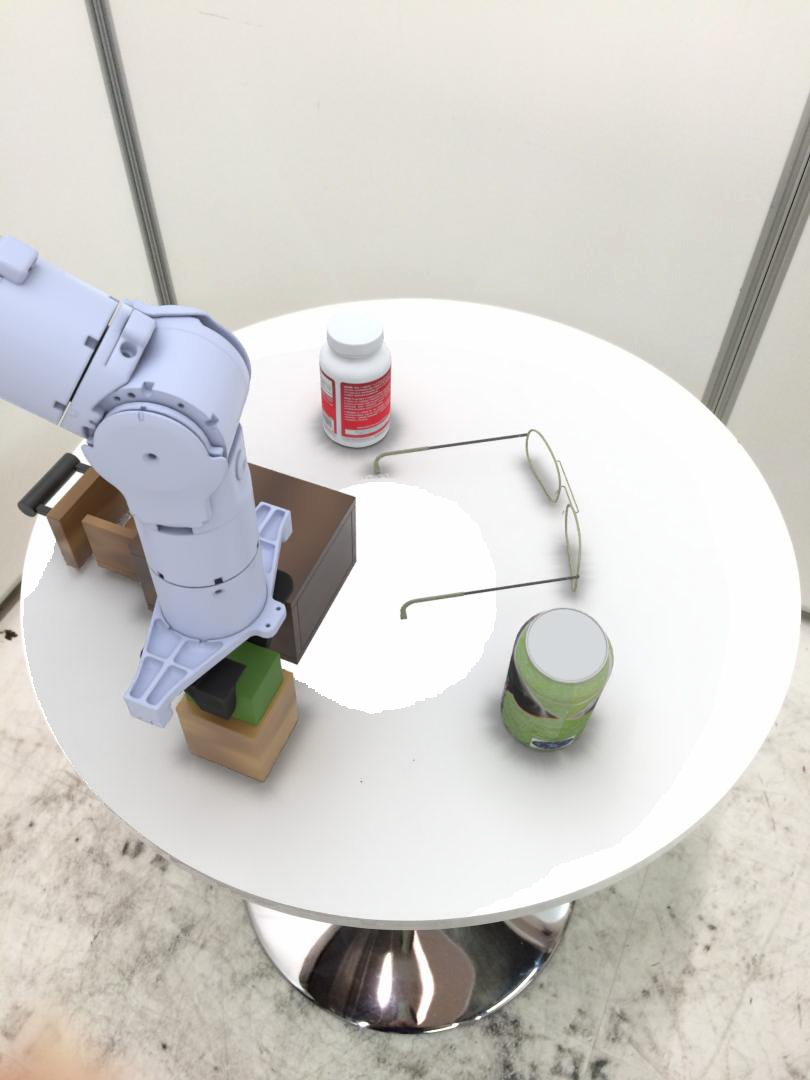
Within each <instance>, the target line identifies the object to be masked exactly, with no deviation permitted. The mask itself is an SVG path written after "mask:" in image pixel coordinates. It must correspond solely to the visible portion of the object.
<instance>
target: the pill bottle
mask: <svg viewBox="0 0 810 1080" xmlns="http://www.w3.org/2000/svg"><path fill="white" fill-rule="evenodd" d="M384 339H385V334H384V323H383V322H382V321H381V319H380V318H379V317H377V316H376V315H374V314H372V313H369V312H367V311H359V310H354V311H353V310H351V311H344V312H341V313H339V314H337V315H334V316H333V317H332V318H331V319H330V320H329V321H328V322H327V325H326V342H325V343H324V344H323V345H322V347H321V349H320V352H319V357H318V364H319V379H320V398H321V399H320V400H321V414H322V415H321V417H322V426H323V430H324V432H325V434H326V435H327V436H328V437H329V439H330V440H332V441H333V442H334V443H337V444H339V445H341V446H344V447H349V448H365V447H369V446H372V445H374V444H376V443H378V442H380V441H381V440H382V439H383V438H384V437H385V436H386V435H387V434H388V432H389V430H390V427H391V426H390V425H391V399H392V397H391V396H392V395H391V394H392V354H391V353H392V352H391V351H390V348H389V346H388V345H387V344H386V342H385V341H384Z"/></svg>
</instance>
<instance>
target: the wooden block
mask: <svg viewBox="0 0 810 1080" xmlns="http://www.w3.org/2000/svg"><path fill="white" fill-rule="evenodd" d="M282 674H283V682H282V684H281V685H280V687H279V689H278V691H277V692H276V694H275V696H274V698H273V699H272V701H271V703H270V705H269V706H268V708H267V710H266V712H265V713H264V715H263V717H262V719H261V720H260V722H259V724H258V725H257V726H254V725H252V724H249V723H247V722H244V721H242V720H239V719H237V718H234V717H231V718H230V719H229V720H226V719H223V718H221V717H218V716H216V715H213V714H210V713H208V712H205V711H203V710H201V709H200V708H199V706H198V705H197V704H196V702H194V701H191V700H189V699H187V698H186V696H185V693H184V694H183V696H182V697H181V699H180V700H179V702H178V703H177V705H176V706H175V712H176V714H177V717H178V721H179V723H180V727H181V730H182V732H183V736H184V739H185V742H186V744H187V748H188V751H189V753H190V754H193V755H195V756H197V757H200V758H203V759H205V760H207V761H210V762H213V763H215V764H217V765H220V766H221V767H224V768H228V769H229V770H232V771H234V772H237V773H239V774H241V775H244V776H247V777H249V778H252V779H254V780H257V781H259V782H261V783H264V782H265V781H266V779H267V777H268V775H269V774H270V771H271V770H272V768H273V766H274V765H275V763H276V760H277V759H278V757H279V755H280V753H281V751H282V749H283V748H284V746H285V744H286V742H287V740H288V738H289V736H291V735H290V734H291V733H292V732H293V729H294V727H295V725H296V724H297V722H298V720H299V711H298V703H297V702H298V701H297V695H296V687H295V686H296V685H295V678H294V672H292V671H289V670H286V669H284V668H282Z"/></svg>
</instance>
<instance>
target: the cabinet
mask: <svg viewBox="0 0 810 1080" xmlns="http://www.w3.org/2000/svg"><path fill="white" fill-rule="evenodd" d="M247 463H248V466H249V470H250V474H251V481H252V488H253V495H254V502H255V508H256V507H257V506H258V505H259V503H260V502H265V503H268V504H271V505H274V506H277V507H280V508H283V509H286V510H289V511H290V512H291V522H292V533H291V535H290V536H289V538H288V539H287V541H286V542H281V548H280V554H279V560H278V566H277V569H278V570H281V571H284V572H286V573H288V574H289V575H290V576H291V577H292V579H293V585H294V590H293V592H292V593H291V595H290V597H289V598H288V600H287V602H286V603H285V608H286V618H285V620H284V621H283V623H282V625H281V626H280V628H279V630H278V631H277V633H276V634H275V635H274V636H273V637H272V639H271V644H270V648H269V650H272V651H275V652H277V653H279V654H280V660H282V661H286V662H288V663H291V664H294V665H296V666H298V665H299V663H300V661H301V660H302V658H303V656H304V654H305V653H306V651H307V649H308V648H309V646H310V644H311V643H312V640H313V639H314V637H315V635H316V634H317V632H318V630H319V628H320V626H321V625H322V623H323V621H324V619H325V618H326V617H327V614H328V612H329V611H330V609H331V607H332V605H333V604H334V602H335V600H336V598H337V596H338V594H339V593H340V591H341V590H342V588H343V586H344V584H345V583H346V581H347V579H348V578H349V575H350V574H351V572H352V570H353V568H354V566H355V565H356V564H357V502H356V500H357V497H356V496H354V495H351V494H347V493H345V492H342V491H339V490H335V489H332V488H330V487H326V486H323V485H320V484H317V483H314V482H312V481H311V482H310V481H307V480H304V479H301V478H299V477H295V476H292V475H289V474H286V473H283V472H280V471H276V470H273V469H270V468H268V467H264V466H262V465H258V464H255V463H251V462H249V461H247ZM128 548H129V551H130V554H131V557H132V560H133V563H134V566H135V569H136V572H137V575H138V578H139V581H140V582H139V581H138V582H139V584H140V587H141V590H142V594H143V596H144V600H145V602H146V605H147V609H148V610H149V611H152V612H153V611H154V607H155V604H156V600H157V593H156V590H155V586H154V583H153V580H152V577H151V574H150V570H149V567H148V564H147V561H146V557H145V553H144V550H143V547H142V544H141V540H140V537H139V534H138V533H137V535H136V536H135V537H134V538H133V540H132V541H131V542H130V543H129V545H128Z"/></svg>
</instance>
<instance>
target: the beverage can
mask: <svg viewBox="0 0 810 1080" xmlns="http://www.w3.org/2000/svg"><path fill="white" fill-rule="evenodd" d="M614 656H615V655H614V648H613V645H612V642H611V640H610V638H609V636H608V635H607V632H606V631H605V630H604V628H603V627H602V625H601V624H600V623H599V621H598V620H597V619H595V618H594V616H592V615H590V614H589V613H587V612H585V611H583V610H581V609H579V608H576V607H575V608H574V607H570V606H569V607H568V606H559V607H552V608H549V609H546V610H543V611H541V612H540V611H539V612H538V613H536V614H535V615H533V616H531V617H530V618H529V619H527V620H526V621H525V622H524V623H523V625H522V626H521V627H520V628H519V630H518V632H517V634H516V636H515V640H514V642H513V647H512V651H511V656H510V659H509V663H508V667H507V668H508V669H507V673H506V676H505V682H504V684H503V690H502V694H501V700H500V712H501V717H502V720H503V722H504V725H505V727H506V728H507V730H508V731H509V733H510V734H511V735H512V737H514V738H515V739H516V740H518V741H519V742H520V743H521V744H523V745H525V746H527V747H529V748H532V749H534V750H537V751H538V750H539V751H557V750H561V749H564V748H567V747H568V746H569V745H571V744H573V743H574V742H575V741H576V740H578V739H579V738H580V736H581V735H582V733H583V732H584V731H585V728H586V726H587V724H588V721H589V720H590V718H591V716H592V714H593V712H594V710H595V707H596V706H597V704H598V702H599V700H600V697H601V695H602V694H603V692H604V690H605V687H606V685H607V683H608V681H609V679H610V678H611V675H612V673H613V668H614V663H615V662H614V660H615V657H614Z"/></svg>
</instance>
